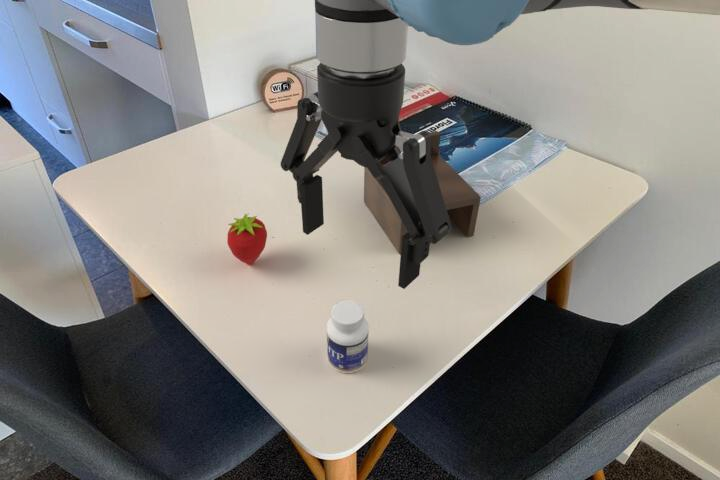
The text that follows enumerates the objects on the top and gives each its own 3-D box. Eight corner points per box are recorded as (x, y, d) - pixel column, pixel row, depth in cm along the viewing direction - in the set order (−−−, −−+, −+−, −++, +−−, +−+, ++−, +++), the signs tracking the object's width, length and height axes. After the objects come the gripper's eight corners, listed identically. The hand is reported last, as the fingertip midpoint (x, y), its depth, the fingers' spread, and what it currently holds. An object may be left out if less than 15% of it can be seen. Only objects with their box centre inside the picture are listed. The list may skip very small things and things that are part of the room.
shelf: (473, 235, 89) (485, 175, 82) (399, 254, 85) (403, 192, 78) (431, 187, 101) (437, 130, 93) (363, 201, 97) (364, 143, 89)
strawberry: (274, 248, 86) (268, 198, 80) (265, 280, 80) (258, 228, 74) (238, 247, 86) (229, 197, 80) (227, 278, 80) (216, 227, 74)
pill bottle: (320, 353, 69) (317, 306, 64) (353, 336, 71) (353, 290, 66) (341, 381, 66) (340, 334, 60) (375, 363, 68) (377, 316, 62)
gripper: (517, 88, 40) (475, 286, 54) (289, 21, 52) (301, 196, 66) (467, 121, 36) (434, 328, 49) (230, 39, 48) (256, 223, 61)
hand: (358, 253), depth 57 cm, fingers open, 13 cm apart
